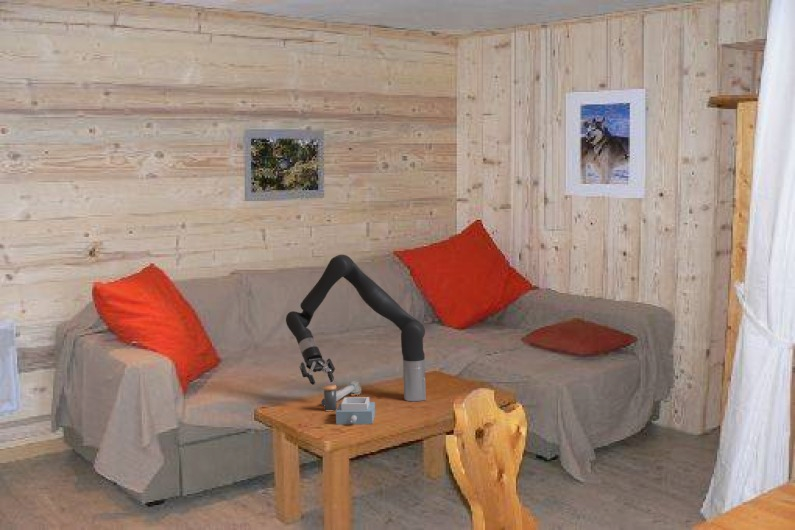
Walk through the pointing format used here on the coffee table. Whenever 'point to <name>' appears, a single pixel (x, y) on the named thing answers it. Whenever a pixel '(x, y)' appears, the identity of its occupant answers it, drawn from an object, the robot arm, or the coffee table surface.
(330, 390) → the dark grey lidded jar
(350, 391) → the grey flanged rod
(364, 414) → the blue knob tray
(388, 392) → the coffee table surface
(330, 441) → the coffee table surface
